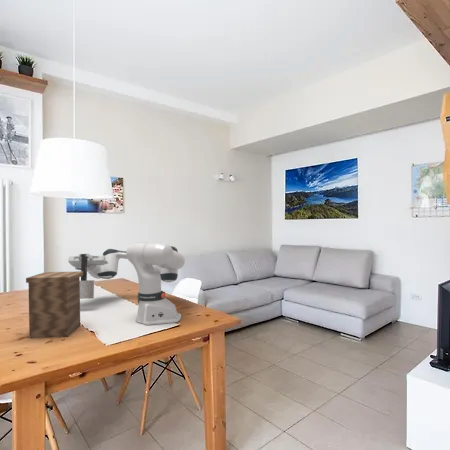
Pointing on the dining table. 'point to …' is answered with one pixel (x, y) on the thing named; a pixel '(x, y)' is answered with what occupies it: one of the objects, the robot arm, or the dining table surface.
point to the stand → (54, 304)
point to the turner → (85, 281)
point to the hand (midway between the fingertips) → (83, 254)
